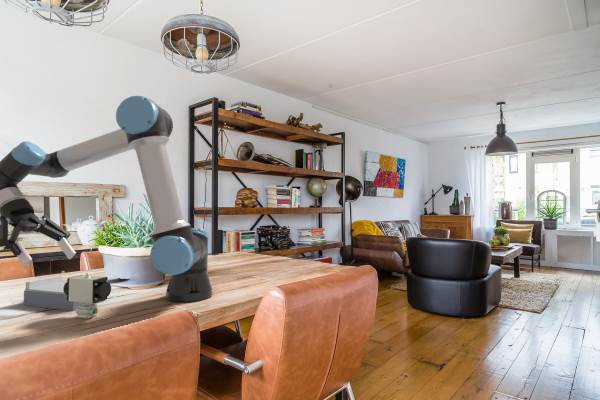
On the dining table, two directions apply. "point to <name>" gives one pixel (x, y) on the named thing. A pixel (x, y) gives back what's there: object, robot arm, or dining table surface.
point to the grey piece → (48, 294)
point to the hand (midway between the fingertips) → (51, 259)
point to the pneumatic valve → (87, 293)
